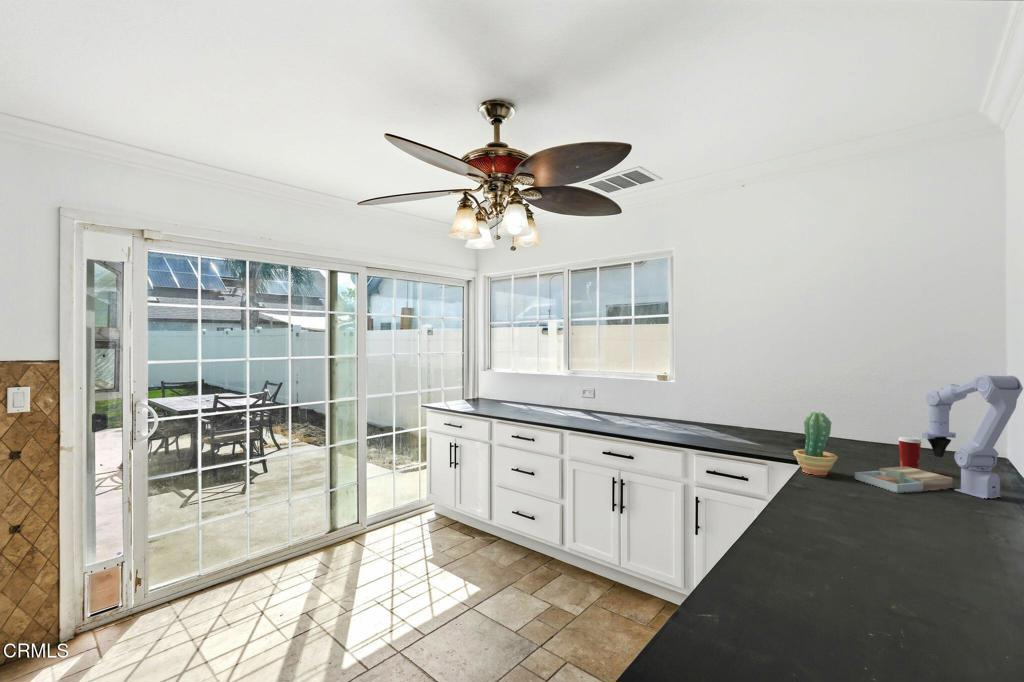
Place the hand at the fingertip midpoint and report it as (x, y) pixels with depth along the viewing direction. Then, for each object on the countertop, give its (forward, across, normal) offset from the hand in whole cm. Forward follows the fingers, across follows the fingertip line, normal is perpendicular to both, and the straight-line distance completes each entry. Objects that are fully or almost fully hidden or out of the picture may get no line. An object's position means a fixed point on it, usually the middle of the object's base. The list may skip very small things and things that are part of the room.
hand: (938, 456), depth 183 cm
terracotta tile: (+6, +28, +1) cm, 29 cm away
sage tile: (+6, +22, +1) cm, 23 cm away
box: (+9, +27, +1) cm, 28 cm away
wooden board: (+9, +14, +1) cm, 16 cm away
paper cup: (+10, -3, -13) cm, 16 cm away
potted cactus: (+10, +40, -18) cm, 45 cm away
